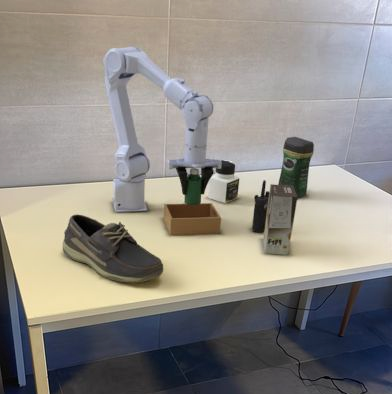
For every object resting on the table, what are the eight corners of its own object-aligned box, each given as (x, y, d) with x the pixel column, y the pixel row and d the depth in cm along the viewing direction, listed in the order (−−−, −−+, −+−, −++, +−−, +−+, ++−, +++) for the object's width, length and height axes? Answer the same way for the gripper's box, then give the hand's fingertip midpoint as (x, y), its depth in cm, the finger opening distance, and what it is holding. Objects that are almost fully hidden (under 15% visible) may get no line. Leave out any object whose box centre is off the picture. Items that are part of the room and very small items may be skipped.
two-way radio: (258, 234, 153) (265, 182, 146) (245, 229, 156) (251, 178, 148) (269, 229, 157) (276, 178, 149) (257, 224, 159) (263, 174, 152)
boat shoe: (144, 294, 121) (145, 251, 115) (48, 257, 133) (45, 216, 128) (171, 276, 129) (173, 234, 123) (79, 242, 141) (77, 203, 136)
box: (170, 235, 149) (170, 219, 147) (163, 219, 158) (163, 203, 156) (219, 233, 152) (221, 217, 150) (210, 217, 161) (211, 203, 159)
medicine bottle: (225, 203, 172) (228, 166, 166) (207, 198, 175) (210, 161, 169) (237, 198, 177) (241, 162, 171) (219, 192, 180) (223, 157, 174)
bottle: (186, 205, 150) (187, 172, 145) (182, 199, 154) (184, 167, 149) (202, 205, 151) (204, 172, 146) (198, 199, 155) (200, 166, 150)
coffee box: (288, 255, 143) (298, 197, 134) (264, 253, 143) (272, 195, 134) (285, 240, 151) (294, 185, 142) (262, 239, 150) (269, 183, 142)
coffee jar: (309, 196, 183) (319, 140, 174) (294, 200, 179) (303, 143, 169) (288, 187, 189) (297, 133, 180) (273, 191, 185) (280, 136, 175)
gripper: (171, 148, 139) (169, 199, 146) (226, 148, 142) (221, 198, 149) (167, 141, 145) (165, 190, 152) (219, 141, 148) (215, 189, 155)
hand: (192, 193), depth 151 cm, fingers closed on bottle, 4 cm apart
